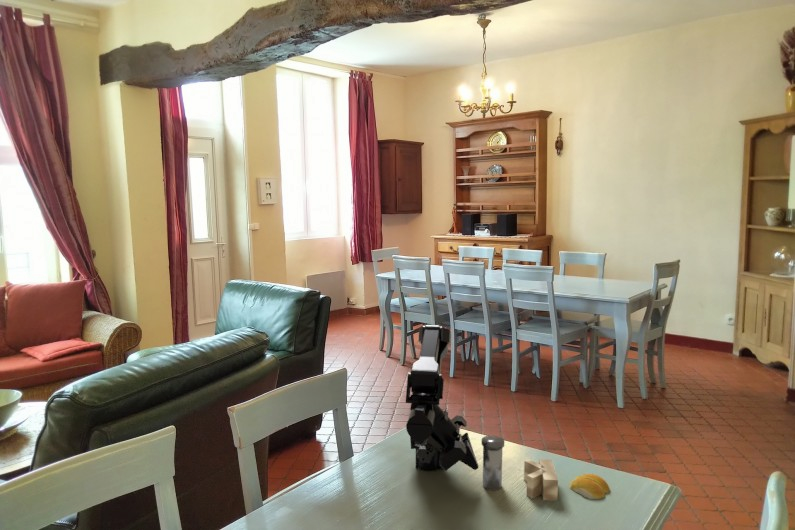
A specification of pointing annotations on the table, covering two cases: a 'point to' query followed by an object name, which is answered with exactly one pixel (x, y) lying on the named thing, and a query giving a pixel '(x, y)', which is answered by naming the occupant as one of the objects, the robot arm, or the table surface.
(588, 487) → the bread roll
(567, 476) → the table surface
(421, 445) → the robot arm
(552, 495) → the v block
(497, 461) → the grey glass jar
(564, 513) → the table surface
